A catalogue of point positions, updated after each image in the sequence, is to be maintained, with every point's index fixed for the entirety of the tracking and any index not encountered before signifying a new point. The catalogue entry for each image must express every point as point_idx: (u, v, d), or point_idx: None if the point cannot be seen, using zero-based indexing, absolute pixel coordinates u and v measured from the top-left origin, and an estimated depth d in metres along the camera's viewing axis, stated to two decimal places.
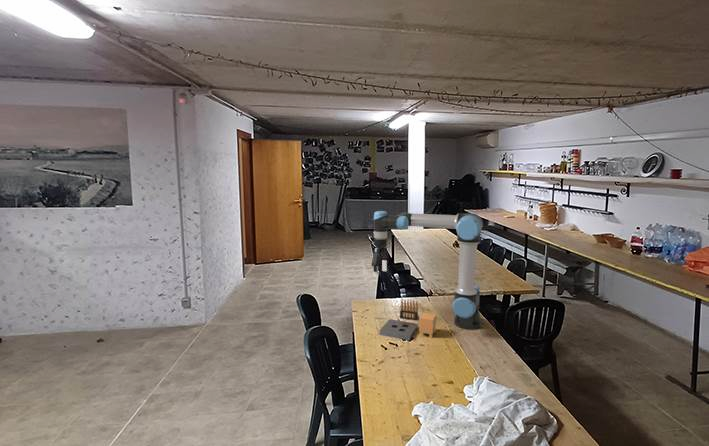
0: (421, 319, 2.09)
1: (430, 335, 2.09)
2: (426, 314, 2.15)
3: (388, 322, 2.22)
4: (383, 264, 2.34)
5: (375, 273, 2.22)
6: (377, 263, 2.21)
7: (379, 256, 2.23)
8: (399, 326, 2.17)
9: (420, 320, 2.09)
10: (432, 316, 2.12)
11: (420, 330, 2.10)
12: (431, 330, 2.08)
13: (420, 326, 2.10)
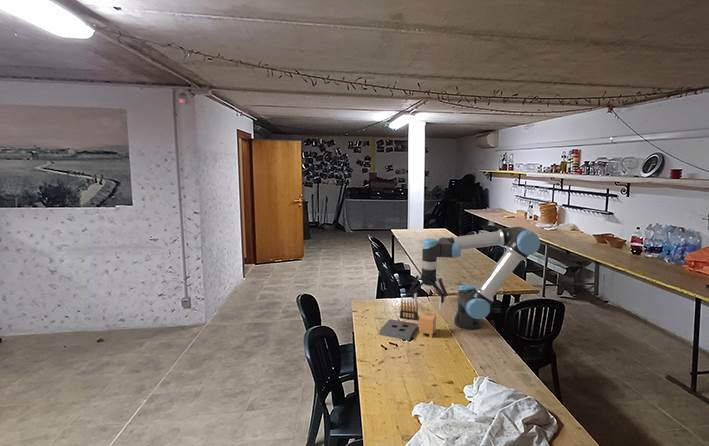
0: (421, 319, 2.09)
1: (430, 335, 2.09)
2: (426, 314, 2.15)
3: (388, 322, 2.22)
4: None
5: None
6: (414, 290, 2.11)
7: (420, 285, 2.10)
8: (399, 326, 2.17)
9: (420, 320, 2.09)
10: (432, 316, 2.12)
11: (420, 330, 2.10)
12: (431, 330, 2.08)
13: (420, 326, 2.10)
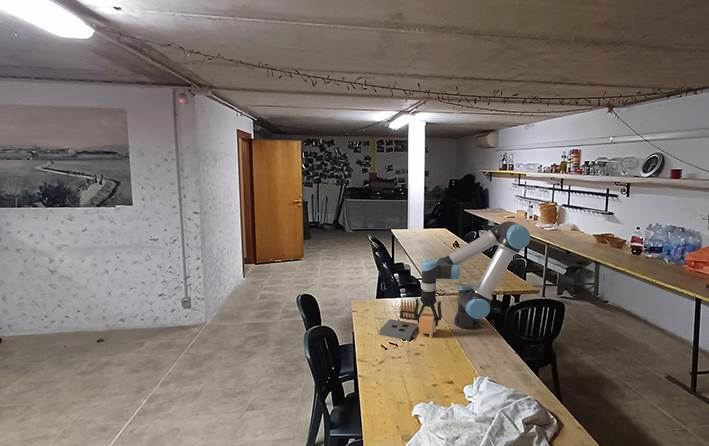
0: (421, 319, 2.09)
1: (430, 335, 2.09)
2: (426, 314, 2.15)
3: (388, 322, 2.22)
4: None
5: None
6: (419, 315, 2.12)
7: (422, 308, 2.11)
8: (399, 326, 2.17)
9: (420, 320, 2.09)
10: (432, 316, 2.12)
11: (420, 330, 2.10)
12: (431, 330, 2.08)
13: (420, 326, 2.10)
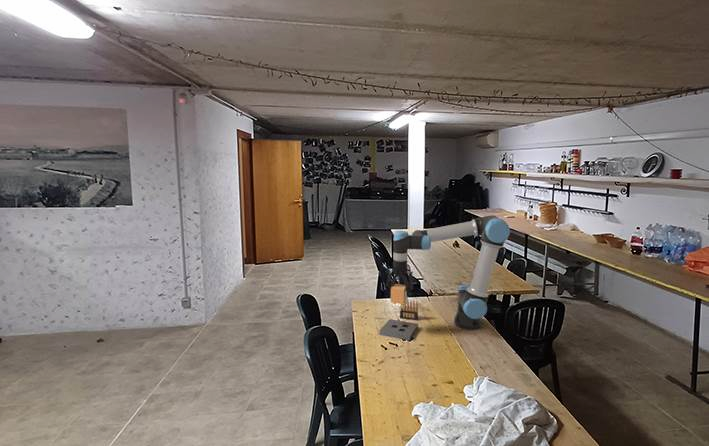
0: (392, 289, 2.10)
1: (401, 305, 2.10)
2: (398, 284, 2.15)
3: (388, 322, 2.22)
4: None
5: None
6: (390, 285, 2.13)
7: (393, 278, 2.12)
8: (399, 326, 2.17)
9: (391, 290, 2.10)
10: (404, 286, 2.13)
11: (391, 300, 2.11)
12: (402, 300, 2.09)
13: (391, 296, 2.11)
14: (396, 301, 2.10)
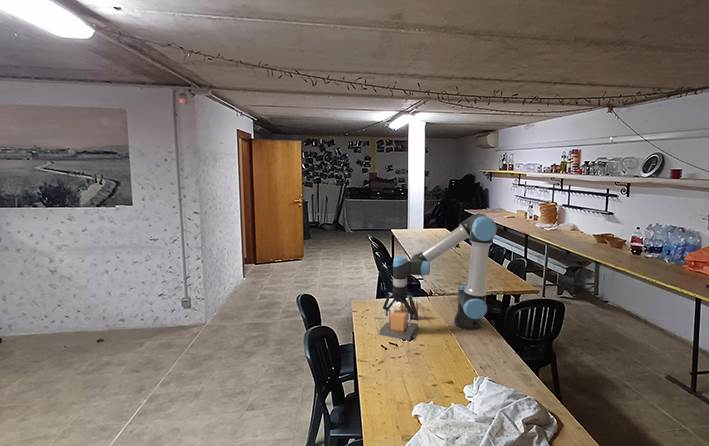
0: (392, 316, 2.12)
1: None
2: (398, 311, 2.18)
3: None
4: None
5: None
6: (387, 308, 2.16)
7: (392, 302, 2.14)
8: None
9: (391, 317, 2.13)
10: (404, 313, 2.15)
11: (392, 327, 2.13)
12: (402, 327, 2.11)
13: (392, 323, 2.13)
14: (396, 328, 2.12)
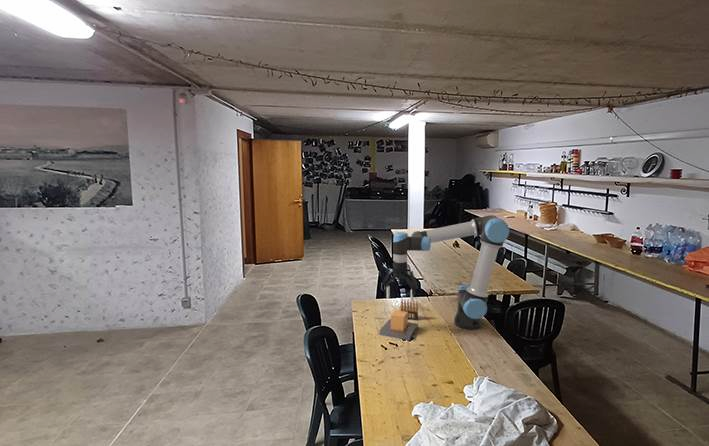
0: (392, 316, 2.12)
1: None
2: (398, 311, 2.18)
3: (388, 322, 2.22)
4: None
5: None
6: (386, 284, 2.14)
7: (391, 278, 2.12)
8: None
9: (391, 317, 2.13)
10: (404, 313, 2.15)
11: (392, 327, 2.13)
12: (402, 327, 2.11)
13: (392, 323, 2.13)
14: (396, 328, 2.12)
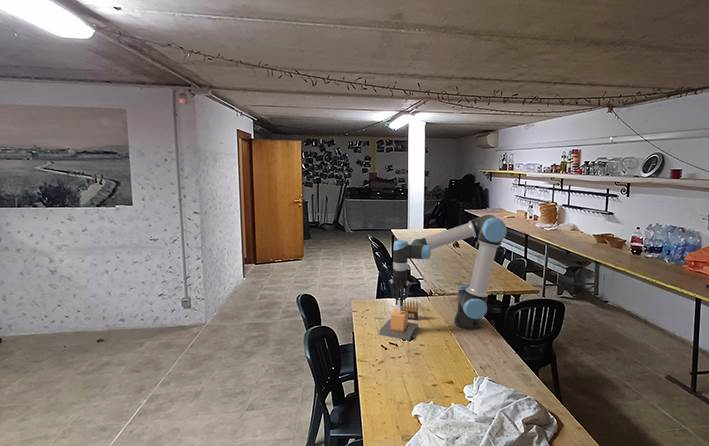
0: (392, 316, 2.12)
1: None
2: None
3: (388, 322, 2.22)
4: None
5: None
6: (396, 296, 2.13)
7: (396, 288, 2.12)
8: None
9: (391, 317, 2.13)
10: (404, 313, 2.15)
11: (392, 327, 2.13)
12: (402, 327, 2.11)
13: (392, 323, 2.13)
14: (396, 328, 2.12)
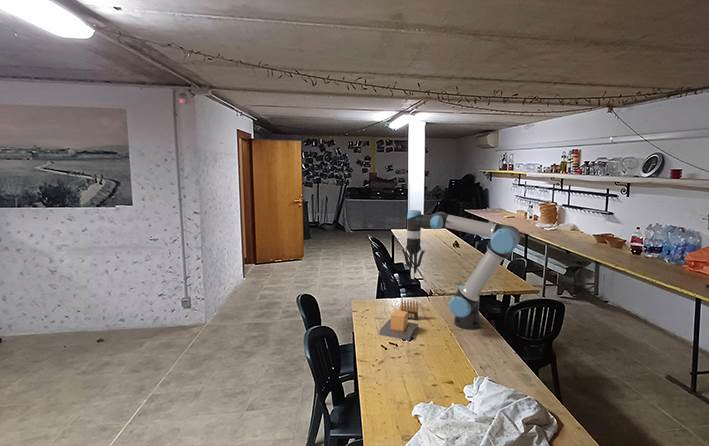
0: (392, 316, 2.12)
1: None
2: (398, 311, 2.18)
3: (388, 322, 2.22)
4: None
5: None
6: (410, 264, 2.23)
7: (410, 256, 2.22)
8: None
9: (391, 317, 2.13)
10: (404, 313, 2.15)
11: (392, 327, 2.13)
12: (402, 327, 2.11)
13: (392, 323, 2.13)
14: (396, 328, 2.12)
